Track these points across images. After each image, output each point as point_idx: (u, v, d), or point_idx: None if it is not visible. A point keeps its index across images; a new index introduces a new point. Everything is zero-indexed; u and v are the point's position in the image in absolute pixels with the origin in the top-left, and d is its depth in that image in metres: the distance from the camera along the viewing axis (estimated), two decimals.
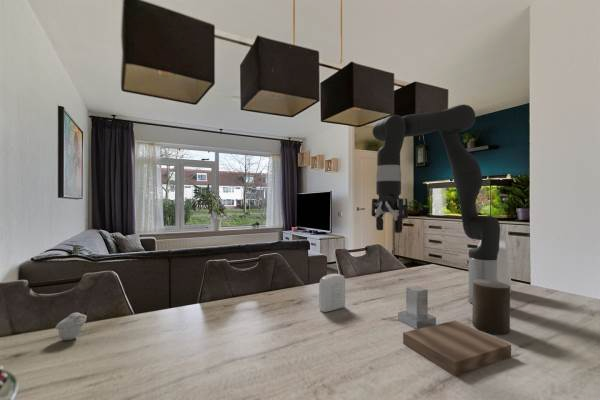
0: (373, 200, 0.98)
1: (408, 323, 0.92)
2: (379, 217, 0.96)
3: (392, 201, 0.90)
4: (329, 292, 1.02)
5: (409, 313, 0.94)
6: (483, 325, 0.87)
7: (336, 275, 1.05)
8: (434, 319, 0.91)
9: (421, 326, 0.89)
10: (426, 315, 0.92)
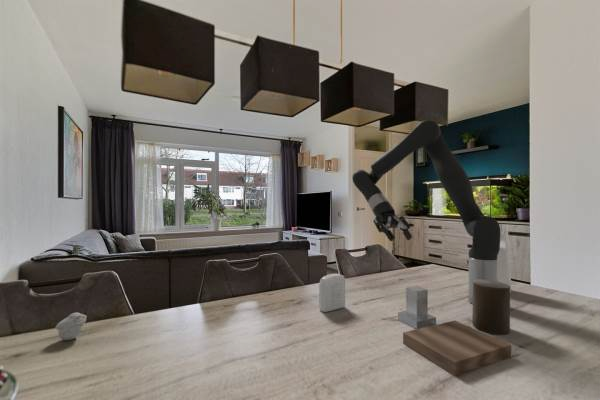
0: None
1: (408, 323, 0.92)
2: (403, 230, 1.13)
3: None
4: (329, 292, 1.02)
5: (409, 313, 0.94)
6: (483, 325, 0.87)
7: (336, 275, 1.05)
8: (434, 319, 0.91)
9: (421, 326, 0.89)
10: (426, 315, 0.92)
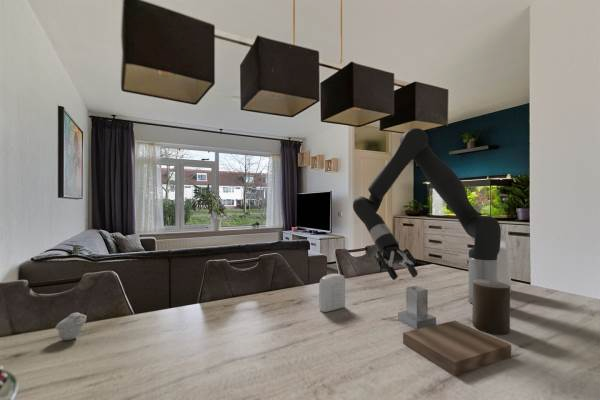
0: None
1: (408, 323, 0.92)
2: (408, 266, 1.03)
3: None
4: (329, 292, 1.02)
5: (409, 313, 0.94)
6: (483, 325, 0.87)
7: (336, 275, 1.05)
8: (434, 319, 0.91)
9: (421, 326, 0.89)
10: (426, 315, 0.92)
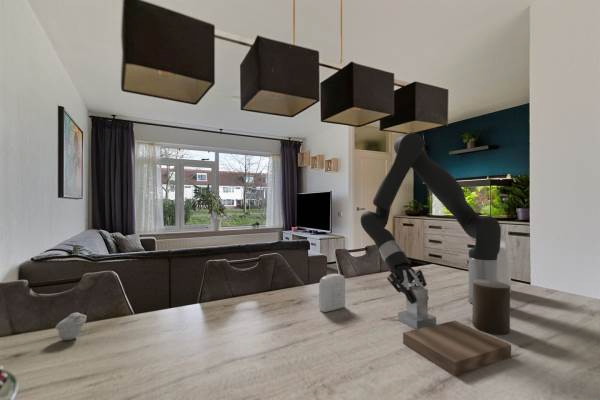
0: None
1: (408, 323, 0.92)
2: None
3: None
4: (329, 292, 1.02)
5: (409, 313, 0.94)
6: (483, 325, 0.87)
7: (336, 275, 1.05)
8: (434, 319, 0.91)
9: (421, 325, 0.89)
10: (426, 315, 0.92)
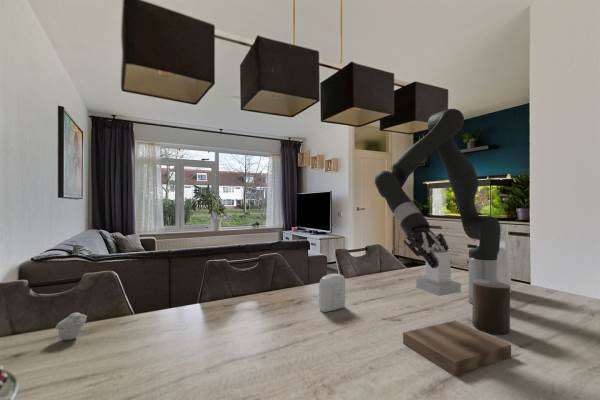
0: None
1: (428, 290, 0.81)
2: None
3: None
4: (329, 292, 1.02)
5: (429, 279, 0.83)
6: (483, 325, 0.87)
7: (336, 275, 1.05)
8: (458, 285, 0.80)
9: (444, 292, 0.78)
10: (449, 281, 0.81)
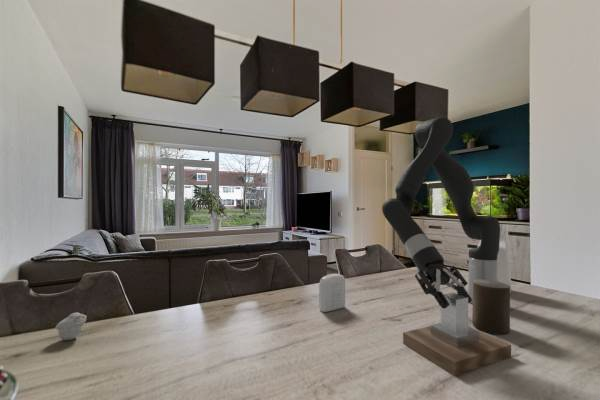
0: None
1: (445, 339, 0.75)
2: (457, 289, 0.80)
3: None
4: (329, 292, 1.02)
5: (445, 326, 0.77)
6: (483, 325, 0.87)
7: (336, 275, 1.05)
8: (477, 334, 0.74)
9: (462, 343, 0.72)
10: (467, 329, 0.75)
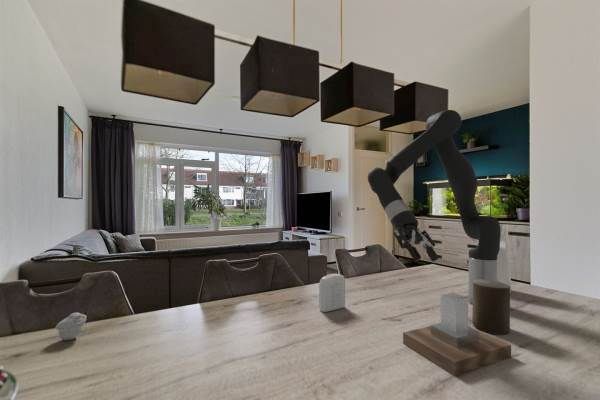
0: None
1: (445, 339, 0.75)
2: (427, 248, 0.91)
3: None
4: (329, 292, 1.02)
5: (445, 326, 0.77)
6: (483, 325, 0.87)
7: (336, 275, 1.05)
8: (477, 334, 0.74)
9: (462, 343, 0.72)
10: (467, 329, 0.75)
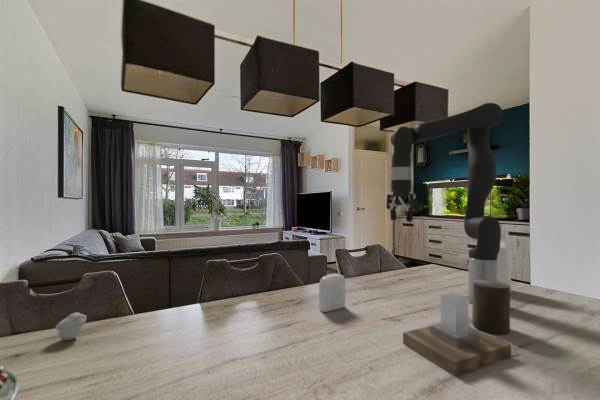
0: (388, 195, 1.19)
1: (445, 339, 0.75)
2: (393, 209, 1.18)
3: (404, 196, 1.11)
4: (329, 292, 1.02)
5: (445, 326, 0.77)
6: (483, 325, 0.87)
7: (336, 275, 1.05)
8: (477, 334, 0.74)
9: (462, 343, 0.72)
10: (467, 329, 0.75)
